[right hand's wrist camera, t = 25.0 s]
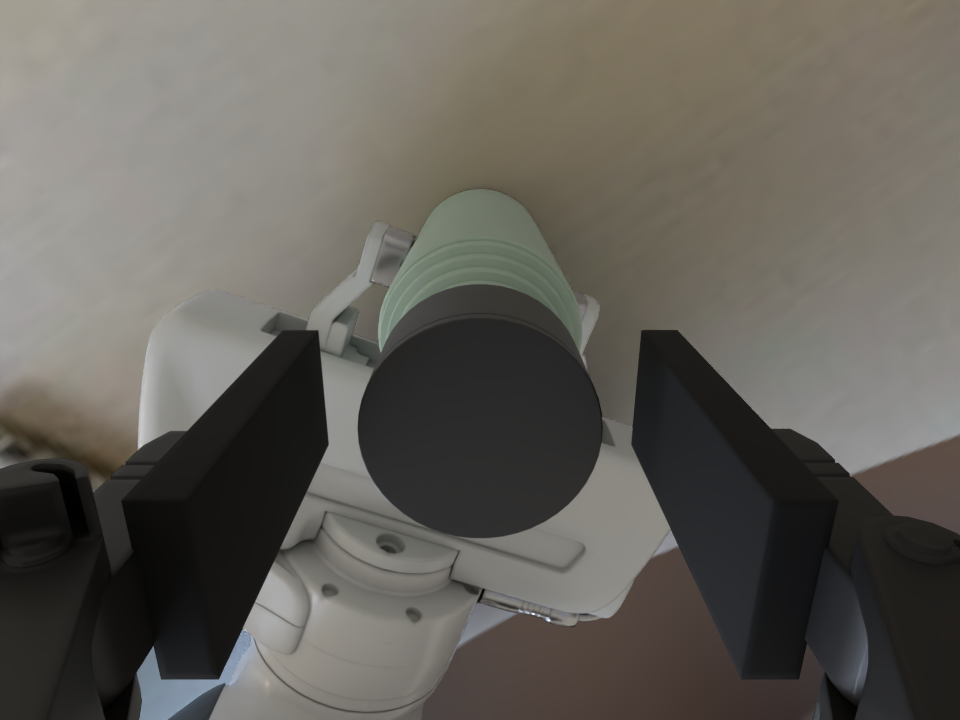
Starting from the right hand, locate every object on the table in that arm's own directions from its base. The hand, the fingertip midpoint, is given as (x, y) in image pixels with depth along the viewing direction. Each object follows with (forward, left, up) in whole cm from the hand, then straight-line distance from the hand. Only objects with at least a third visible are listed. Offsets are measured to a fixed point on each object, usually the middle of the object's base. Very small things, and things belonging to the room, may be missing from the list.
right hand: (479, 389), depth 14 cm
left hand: (0, -1, -9) cm, 9 cm away
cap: (0, 0, +2) cm, 2 cm away
